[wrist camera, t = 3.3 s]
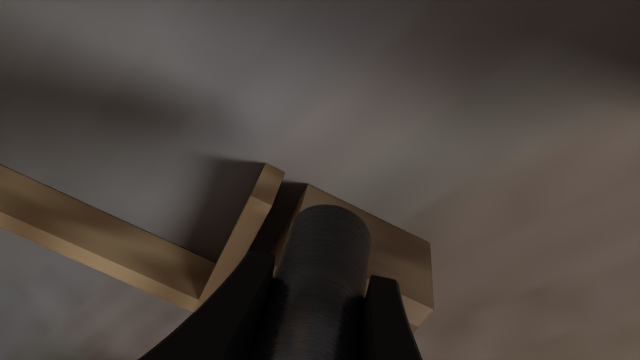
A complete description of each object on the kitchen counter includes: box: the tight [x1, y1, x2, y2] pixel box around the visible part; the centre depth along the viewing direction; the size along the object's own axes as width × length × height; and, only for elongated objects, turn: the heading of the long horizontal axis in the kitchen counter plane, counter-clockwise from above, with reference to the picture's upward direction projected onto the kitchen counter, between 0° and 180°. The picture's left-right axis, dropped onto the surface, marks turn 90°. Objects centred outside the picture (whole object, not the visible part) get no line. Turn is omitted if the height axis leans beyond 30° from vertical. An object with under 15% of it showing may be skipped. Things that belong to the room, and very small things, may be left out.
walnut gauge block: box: [269, 184, 434, 333], centre depth 22 cm, size 6×6×4 cm
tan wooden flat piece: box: [0, 164, 285, 312], centre depth 21 cm, size 17×11×2 cm, turn 64°
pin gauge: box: [246, 204, 371, 360], centre depth 12 cm, size 2×2×8 cm
